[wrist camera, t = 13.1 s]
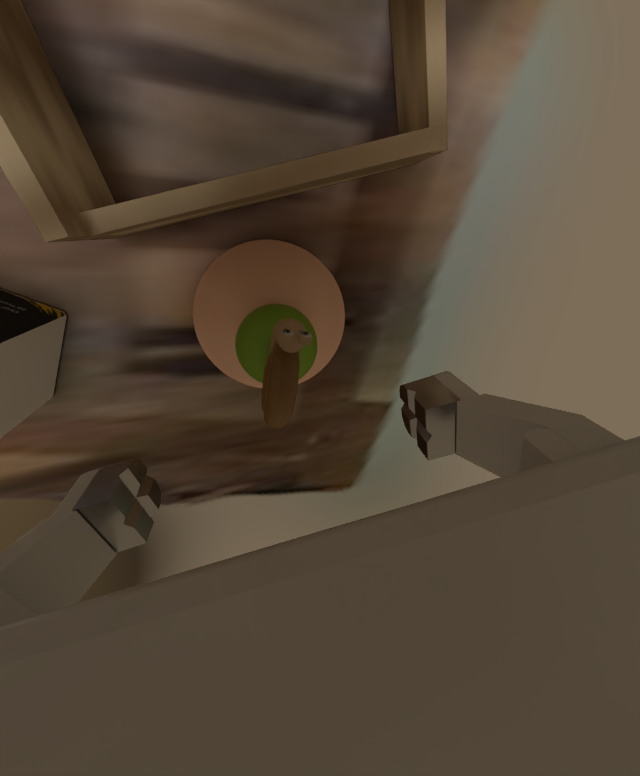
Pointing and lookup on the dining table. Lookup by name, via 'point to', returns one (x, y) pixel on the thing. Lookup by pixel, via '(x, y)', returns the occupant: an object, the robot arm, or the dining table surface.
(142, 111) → the dining table surface
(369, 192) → the dining table surface
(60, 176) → the cold frame
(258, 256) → the tan disc
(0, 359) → the medicine bottle
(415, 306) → the dining table surface
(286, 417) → the snail figurine
